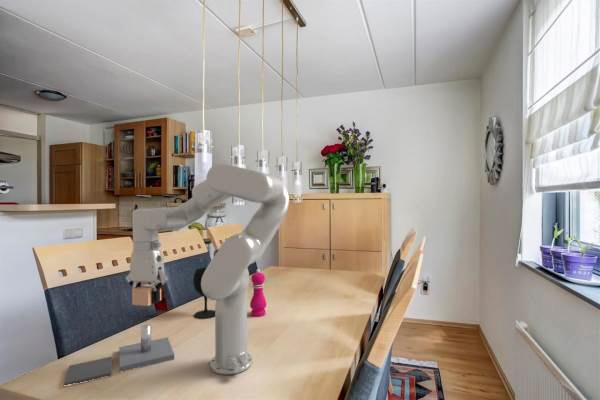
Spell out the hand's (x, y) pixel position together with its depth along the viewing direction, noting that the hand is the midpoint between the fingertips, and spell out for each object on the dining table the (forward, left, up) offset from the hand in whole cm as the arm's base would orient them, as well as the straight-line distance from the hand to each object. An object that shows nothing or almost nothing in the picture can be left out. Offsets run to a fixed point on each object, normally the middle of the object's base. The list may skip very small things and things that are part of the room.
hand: (147, 301), depth 102 cm
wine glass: (+28, -26, -18) cm, 42 cm away
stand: (0, 0, -17) cm, 17 cm away
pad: (-3, +15, -17) cm, 23 cm away
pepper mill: (+16, -46, -18) cm, 52 cm away
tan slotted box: (0, 0, 0) cm, 0 cm away
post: (0, 0, -16) cm, 16 cm away
